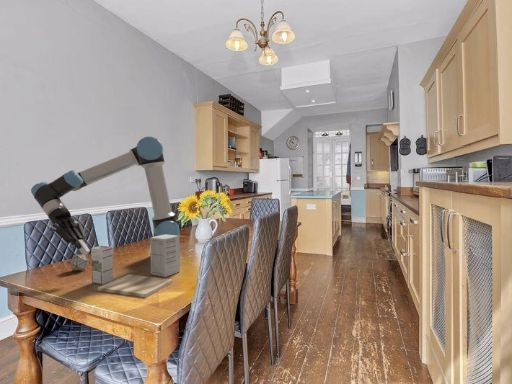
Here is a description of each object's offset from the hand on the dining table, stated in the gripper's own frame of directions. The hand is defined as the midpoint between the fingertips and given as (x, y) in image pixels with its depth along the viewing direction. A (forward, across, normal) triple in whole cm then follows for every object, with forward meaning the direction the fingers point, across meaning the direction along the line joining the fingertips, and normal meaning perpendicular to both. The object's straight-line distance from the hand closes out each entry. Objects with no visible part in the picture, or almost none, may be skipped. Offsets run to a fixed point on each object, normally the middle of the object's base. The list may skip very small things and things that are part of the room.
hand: (86, 253), depth 116 cm
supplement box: (+26, -18, +10) cm, 33 cm away
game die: (-2, -9, -18) cm, 21 cm away
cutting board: (+26, 0, +10) cm, 28 cm away
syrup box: (+14, 0, -2) cm, 14 cm away
